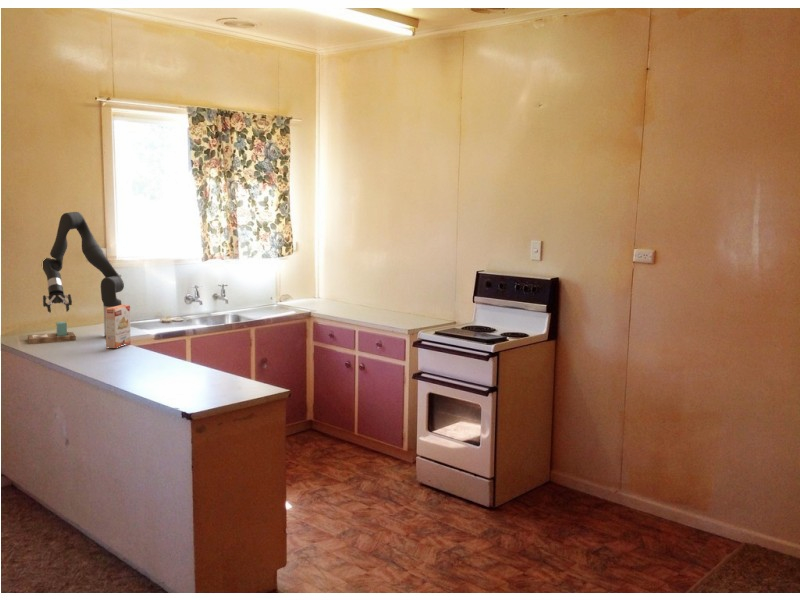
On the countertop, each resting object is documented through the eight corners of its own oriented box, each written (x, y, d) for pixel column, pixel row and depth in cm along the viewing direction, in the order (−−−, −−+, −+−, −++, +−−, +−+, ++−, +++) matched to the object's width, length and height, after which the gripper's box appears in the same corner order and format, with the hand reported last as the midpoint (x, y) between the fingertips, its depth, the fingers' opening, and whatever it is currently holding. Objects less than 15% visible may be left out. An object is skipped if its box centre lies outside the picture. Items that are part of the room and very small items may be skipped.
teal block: (66, 337, 392) (65, 321, 390) (67, 339, 388) (66, 322, 387) (57, 338, 389) (56, 322, 388) (58, 340, 386) (57, 323, 384)
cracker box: (116, 349, 370) (115, 309, 367) (105, 348, 371) (104, 308, 368) (131, 344, 383) (130, 305, 380) (121, 343, 384) (120, 304, 381)
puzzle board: (72, 337, 397) (72, 331, 396) (75, 341, 387) (75, 335, 386) (27, 340, 386) (27, 334, 385) (29, 345, 375) (29, 338, 375)
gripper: (41, 284, 397) (44, 308, 389) (69, 283, 404) (73, 306, 396) (41, 292, 402) (44, 316, 394) (69, 291, 410) (72, 314, 402)
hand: (58, 311), depth 395 cm, fingers open, 8 cm apart
